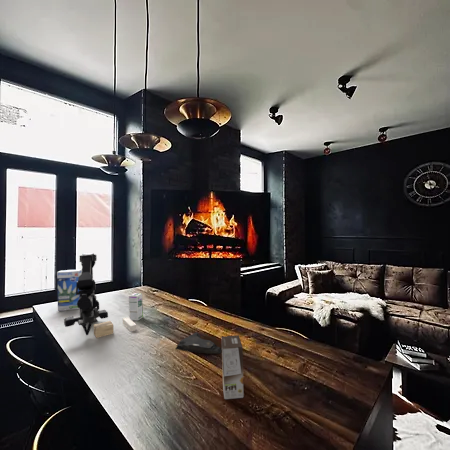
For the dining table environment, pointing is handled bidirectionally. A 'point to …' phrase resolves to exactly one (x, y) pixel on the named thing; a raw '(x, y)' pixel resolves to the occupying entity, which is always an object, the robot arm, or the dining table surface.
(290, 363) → the dining table surface
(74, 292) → the string lights box
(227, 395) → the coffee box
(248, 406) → the dining table surface
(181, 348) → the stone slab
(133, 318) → the syrup box
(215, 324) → the dining table surface
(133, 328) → the plank
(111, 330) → the oak block
